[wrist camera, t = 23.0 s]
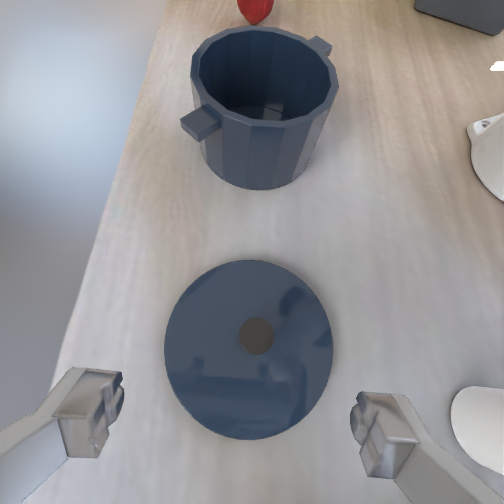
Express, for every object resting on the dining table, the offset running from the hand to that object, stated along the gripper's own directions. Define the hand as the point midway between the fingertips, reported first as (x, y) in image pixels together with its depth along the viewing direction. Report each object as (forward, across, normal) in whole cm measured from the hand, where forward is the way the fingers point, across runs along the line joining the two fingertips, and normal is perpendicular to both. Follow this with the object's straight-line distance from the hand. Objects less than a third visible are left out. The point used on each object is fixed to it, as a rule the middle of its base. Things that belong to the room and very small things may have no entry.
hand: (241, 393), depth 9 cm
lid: (+13, -1, +9) cm, 16 cm away
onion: (+49, +2, -26) cm, 55 cm away
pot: (+30, 0, -8) cm, 31 cm away
